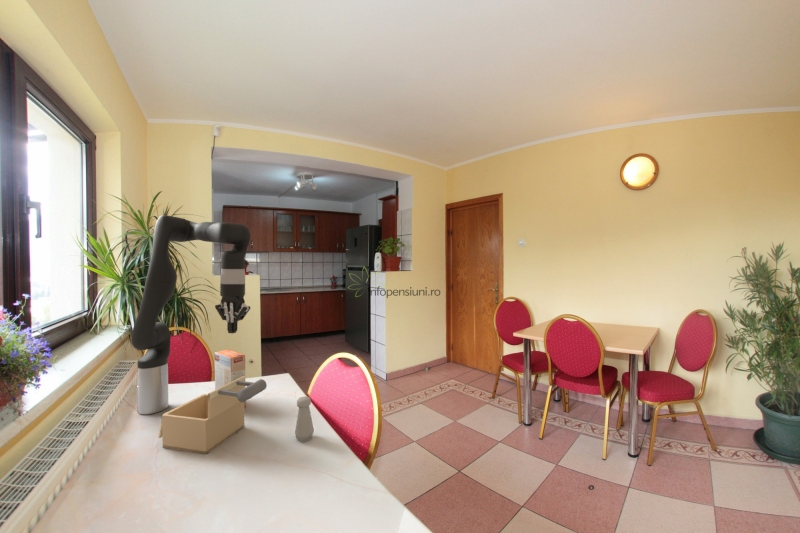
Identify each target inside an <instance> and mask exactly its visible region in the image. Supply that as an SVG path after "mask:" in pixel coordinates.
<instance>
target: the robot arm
mask: <svg viewBox="0 0 800 533" xmlns="http://www.w3.org/2000/svg"><path fill="white" fill-rule="evenodd" d="M191 241H203V242H207V243H217V244H224V245H232V248H231V249H230V250H226V251H224V252H222V254H221V262H220V263H221V264H220V265H221V266H220V267H221V269H220V270H221V271H220V281H219V282H220V283H219V284H220V286H219V290H220V291H219V292H220V293H219V295H220V296H221V299H220V303H218V304H215V305H214V308H215V310H216V312H217V313H218V314H219V316H220V318H221V319H222V321H226V323H227V324H226V326H227V328H226V330H227V333H228V334H231V335H232V334H236V333H237V332H238V323H239V321H242V320H244V318H245V317H246V316H247V314H248V313H249V312H250V310H251V306H250V305H247V304H246V303H245V296H246V271H245V268H246V267H245V264H246V260H245V258H246V254H247V251H248V247H249V244H250V241H251V231H250V230H249V228H248V227H247V226H246V225H245V224H240V223H234V222H225V221H223V222H215V221H203V222H199V223H198V222H194V221H191V220H189V219H186V218H184V217H183V218H182V217H177V216H173V215H168V214H167V215H166V214H165V215H164V214H162V215H160V216H158V218H157V220H156V222H155V225H154V231H153V239H152V249H151V257H150V261H149V266H148V271H147V275H146V277H145V284H144V288H143V294H142V298H141V302H140V306H139V311H138V313H137V317H136V319H135V322H134V324H133V328H132V330H131V336H130V342H131V345H132V346H133V348H134V349H135V350H137V351H145V350H146V352H145V354H143V355H142V356H140V358H139V359H138V360H137V386H136V387H135V389H136V390H135V394H136V397H135V398H136V412H137V413H138V414H139V415H151V414H156V413H158V412H162V411H164V410H166V409H167V408H169V405H170V404H169V367H168V365H169V364H168V361H169V360H168V359H169V357H170V354H171V331H170V330H171V329H170V328H169V326H168V325H167V324H166V323H164V322H163V321H157V320H158V317H159V315H160V313H161V312H162V311H163V308H164V307H165V306H166V305H167V303H168V302H169V300H170V299H171V298H172V297H173V295H174V293H175V288H176V284H177V280H178V274H177V272H176V269H175V267H174V264H173V263H172V261H171V258H170V254H169V245H170V242H177V243H185V242H191Z"/></svg>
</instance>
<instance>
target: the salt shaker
mask: <svg viewBox="0 0 800 533" xmlns="http://www.w3.org/2000/svg"><path fill="white" fill-rule="evenodd" d="M311 404H312V401H311V397H309V396H301V397H298V399H297V400H296V406H297V407H298V409H297V410H298V412H297V419H296V424H295V430H294V436H295V437H296V439H297V441H298V442H301V443H304V442H308V441H310V440H311V439H312V438H313V434H314V431H315V430H314V424H313V420H312V415H311V410H310V405H311Z"/></svg>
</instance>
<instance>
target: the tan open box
mask: <svg viewBox="0 0 800 533" xmlns="http://www.w3.org/2000/svg"><path fill="white" fill-rule="evenodd" d="M242 429H245V408H244V402H239V403H237V404H235V405H234V406H232V407H230V408H229V409H227V410H225V411H224V412H222V413H220V414H219V415H217V416H215V417H214V418H212V419H210V420H208V393H207V394H206V393H203V394H201V395H199V396H196V397H195V398H193V399H190V400H189V401H187V402H185V403H183V404H181V405H178V406H177V407H175V408H173V409H170V410H168V411H167V412H164V413H163V414H162V415H161V424H160V428H159V432H158V439H161V438H162V448H164V449H171V450H176V451H181V452H182V451H183V452H188V453H189V452H190V453H194V454H195V453H196V454H203V455H207V454H209V453H211V451H213V450H214V449H215V448H217V447H219V446H220V445H221V444H223V443H224V442H225V441H226V440H228V439H229V438H230V439H231V437H233V436H234V435H235V434H237V433H238V432H239V431H241V430H242Z"/></svg>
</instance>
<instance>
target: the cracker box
mask: <svg viewBox="0 0 800 533" xmlns="http://www.w3.org/2000/svg"><path fill="white" fill-rule="evenodd" d="M243 376H245V377H246V354H243V353H240V352H238V351H234V350H231V349H225V350H220V351H216V352H214V390H216V389H218V388H220V387H222V386H224V385H226V384H228V383H230V382H232V381H234V380H236V379H238V378H240V377H243ZM246 402H247V401H245V402H244V409H245V408H246V404H247V403H246Z"/></svg>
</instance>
